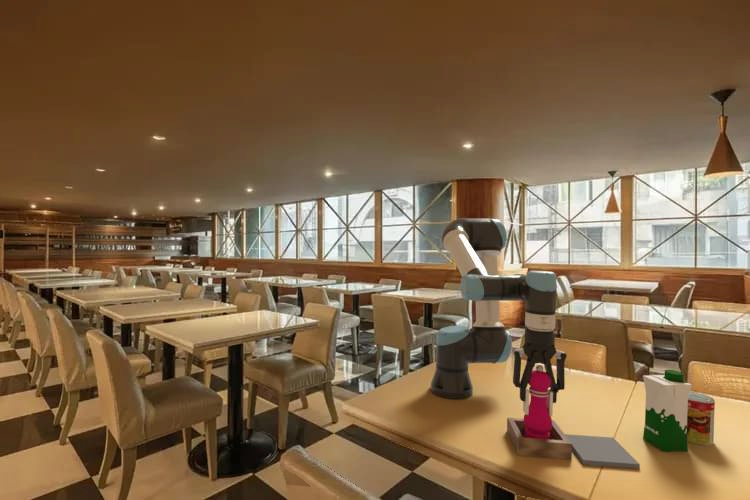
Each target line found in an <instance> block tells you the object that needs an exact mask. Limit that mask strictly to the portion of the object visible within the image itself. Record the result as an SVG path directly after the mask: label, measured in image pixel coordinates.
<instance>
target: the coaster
mask: <svg viewBox="0 0 750 500" xmlns="http://www.w3.org/2000/svg"><path fill="white" fill-rule="evenodd" d="M564 434H565V433H564ZM565 435H566V437H567V438H568V439H569V441H570V442H571V443H572V452H573V451H574V452H573V453H574V454H575V456H576V455H577V456H576V457H577V458H578V459H580V460H579V461H580V462H581V464H582V465H585V466H595V467H609V468H619V469H620V468H621V469H632V470H633V469H634V470H640V467H641V463H639V462H638V460H637V459H636V458H634V457H633V456H632V455H631V454H630V452H628V451H627V450H626V449H625V448H624V447H623V446H622V445H621V444H620V443H619V442H618V441H617V440H616V439H615V438H614V437H611V436H610V437H609V436H599V435H597V436H596V435H595V436H594V435H583V434H568V433H566V434H565Z"/></svg>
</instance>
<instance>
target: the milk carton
mask: <svg viewBox="0 0 750 500" xmlns="http://www.w3.org/2000/svg"><path fill="white" fill-rule="evenodd" d="M642 378H643V383H644V389H645V407H644V409H645V411H644V412H645V413H644V414H645V415H644V416H645V417H644V429H643V436H642V439H643V440H644V441H646V442H648V443H649V444H650V445H652V446H654V447H655V448H657V449H658V450H659V451H661V452H662V453H663V452H665V453H666V452H667V453H668V452H688V450H689V448H688V441H687V409H688V398H689V394H690V392H692V387H693V385H692V383H688V382H687V381H686V380H684V373H683V372H682V371H679V370H673V369H665V370H664V374H650V375H642Z"/></svg>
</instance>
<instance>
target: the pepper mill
mask: <svg viewBox="0 0 750 500" xmlns="http://www.w3.org/2000/svg"><path fill="white" fill-rule="evenodd" d="M528 385H529V387H528V390H529V395H530V400H529V415H526V414H525V413H524V415H523V419H524V424H525V426H526V427H527V428H526V429H525V435H524V437H525V438H536V439H550V440H551V437H550V433H549V431H550V430H551V429H552V416H550V415H549V412H548V409H547V397H548V396H549V390H548V388H550V386H551V379H550V377H549V375H548V374H547V373H546V371H545V370H544V366H542V365H540V364H537V365H536V367H535V369H534V370H532V373H531V376H530V379H529V382H528Z"/></svg>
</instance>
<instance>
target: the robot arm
mask: <svg viewBox="0 0 750 500" xmlns="http://www.w3.org/2000/svg"><path fill="white" fill-rule="evenodd" d="M507 240H508V236H507V231H506V227H505V225H504V223H503V222H502V221H501V220H500V219H498V218H490V217H488V218H487V217H486V218H484V217H483V218H479V217H478V218H477V217H476V218H475V217H474V218H470V217H469V218H468V217H467V218H466V217H461V218H456V219H454V220H452V221H450V222H449V223H447V225H446V226H445V227H444V228H443V230H442V233H441V243H442V245H443V248H444V249H445V250H446V252H448V253H450V255H451V257H452V259H453V261H454V263H455V265H456V267H457V269H458V272H459V273H460V276H461V280H460V292H461V293H460V294H461V296H462V298H463V299H464V300H466V301H475V322H474V323H473V324H472V327H471V328H472V330H470V328H469V327H467V326H466V325H465V326H464V325H449V326H445V327H442V328H440V329H439V330H438V331H437V332H436V341H435V345H436V347H435V348H436V349H435V353H436V354H435V357H436V358H435V371H434V373H433V377H432V378H431V382H430V391H431V393H433V394H434V395H435V396H438V397H441V398H446V399H450V400H451V399H452V400H460V399H462V400H463V399H467V398H470V397H472V396H473V394H474V388H473V386H474V385H473V384H472V380H471V376H470V373H469V364H492V365H493V364H499V363H500V364H501V363H502V364H503V363H505V362H506V361H508V359H509V358H510V357H511V356H510V355H511V353H513V356H514V357H513V373H512V374H513V375H512V384H513V385H514V387H515V388H518V389H519V399H520V401H521V402H522V411H523V413H524V415H525V414H526V415H529V405H530V393H529V388H528V385H529V384H528V382H529V379H530V376H531V373H532V371H533V369H534V367H535V365H536V364H543V368H544V371H545V372H546V373H547V374H548V375H549V377H550V379H551V386H550V387H549V388H548V390H549V396H548V397H547V409H548V412H549V415H550V416H551V417H553V410H554V409H553V407H554V406H553V404H556V403H557V396H558V393H559V391H560V390H561V391H563V390H565V389H566V388H565V361H566V359H567V355H568V354H567V353H565V352H564V351H563V350H558V349H557V348H556V347H555V345H556V331H555V329H556V310H557V309H556V307H557V294H558V293H557V290H558V284H557V274H556V273H555V272H553V271H546V270H529V271H528V272H526V274H525V273H524V274H523V273H521V274H520V273H517V274H499V267H498V265H499V264H498V263H499V262H498V257H499V256H500V255H501V254H502V250H503V249H504V248H505V247H506V245H507ZM500 301H501V302H503V301H505V302H506V301H507V302H508V301H510V302H511V301H513V302H515V301H516V302H517V301H518V302H525V313H524V314H525V316H524V325H525V328H524V342H523V343H524V344H523V346H522V347H521V348H512V347H513V340H512V336H511V333H510V331H508V330H507V329H506V326H505V325H504V324H503V323H502V322H501V311H500ZM523 355H526V357H527V359H526V363H525V367H524V369H523V373H522V374H521V369H522V357H523ZM554 356H555V358H556V378H555V376H554V371H553V367H552V362H551V360H552V358H553V357H554ZM521 375H522V376H521Z"/></svg>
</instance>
